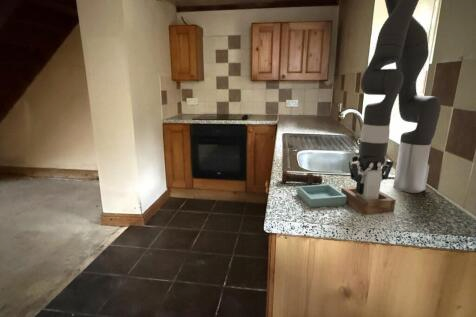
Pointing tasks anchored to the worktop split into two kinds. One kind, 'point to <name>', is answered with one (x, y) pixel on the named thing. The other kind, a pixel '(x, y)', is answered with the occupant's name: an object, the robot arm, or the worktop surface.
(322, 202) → the tray
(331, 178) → the worktop surface
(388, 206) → the holder
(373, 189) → the skincare box
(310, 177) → the bolt
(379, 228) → the worktop surface
